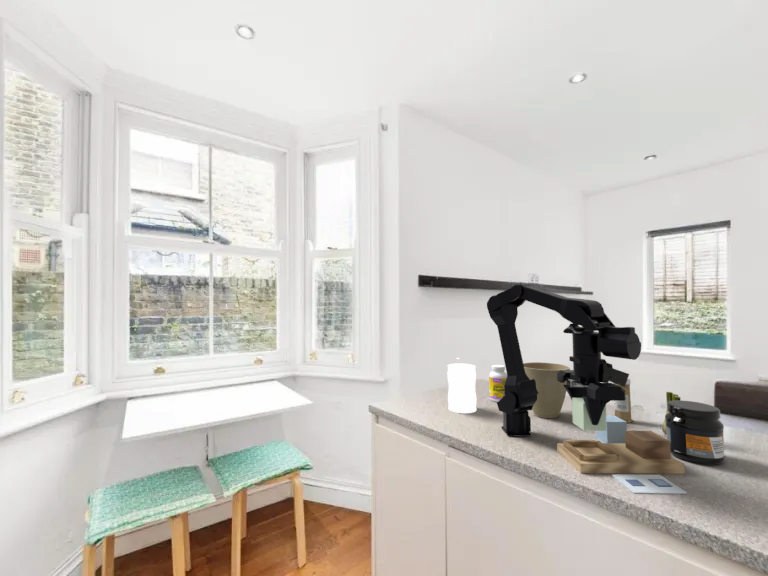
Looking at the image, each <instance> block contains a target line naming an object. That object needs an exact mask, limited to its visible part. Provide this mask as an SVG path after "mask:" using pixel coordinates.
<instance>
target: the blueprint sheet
mask: <svg viewBox="0 0 768 576" xmlns="http://www.w3.org/2000/svg"><path fill="white" fill-rule="evenodd" d="M611 476H612V477H613V478H614V479H616V481H618V482H619V483H620V484H621V485H622V486H624V487H626V488H627V489H628V490H629V491H631V492H632V493H633V494H661V495H664V494H669V495H671V494H672V495H673V494H675V495H676V494H677V495H678V494H679V495H687V494H688V492H687V491H686V490H684V489H682V488H681V487H679V486H677V485H676V484H674V483H673V482H671V481H670V480H669V479H667V478H666V477H664V476H662V475H661V474H616V473H611Z"/></svg>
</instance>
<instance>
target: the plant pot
mask: <svg viewBox="0 0 768 576" xmlns="http://www.w3.org/2000/svg"><path fill="white" fill-rule="evenodd" d="M523 365H524V369H525V373H526V375H527V376H528V377H529V379H530V380H531V379H534V380H535V382H536V388H537V391H538V393H539V394H537V401H536V402H535V404H534V405H533V408H532V410H531V411H532V412H533V414H534V416H537V417H539V418H545V419H556V418H558V417H559V416H560V413H561V411H562V408H563V405H564V402H565V398H566V396H567V395H566V394H567V390H566V389H565V387H564V386H563V385H567V381H565V382H564V383H561V382H559V381H557V373H558V372H559V371H560V370H571V367H570V366H569V365H566V364H562V363H554V362H553V363H551V362H542V361H541V362H540V361H539V362H537V361H536V362H523Z"/></svg>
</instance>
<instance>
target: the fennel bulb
mask: <svg viewBox="0 0 768 576" xmlns="http://www.w3.org/2000/svg"><path fill="white" fill-rule="evenodd" d="M665 395H666V403H667V402H669V401H674V400H681V396H679V394H676V393H673V392H672V391H666V393H665ZM665 412H666V413H665V415H666V414H667V413H668V412H669V411H668V410H667V409H666V411H665ZM661 430H662V432H663V434H664V435H665V436H666V420H665V419H664V420H663V422H662V425H661Z"/></svg>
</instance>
